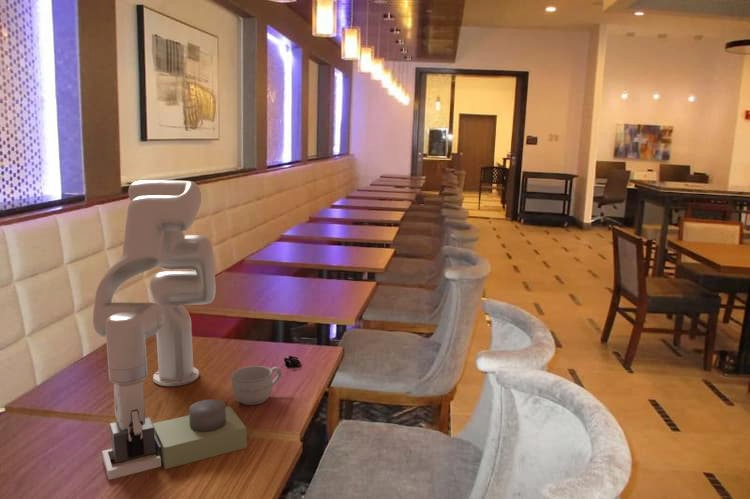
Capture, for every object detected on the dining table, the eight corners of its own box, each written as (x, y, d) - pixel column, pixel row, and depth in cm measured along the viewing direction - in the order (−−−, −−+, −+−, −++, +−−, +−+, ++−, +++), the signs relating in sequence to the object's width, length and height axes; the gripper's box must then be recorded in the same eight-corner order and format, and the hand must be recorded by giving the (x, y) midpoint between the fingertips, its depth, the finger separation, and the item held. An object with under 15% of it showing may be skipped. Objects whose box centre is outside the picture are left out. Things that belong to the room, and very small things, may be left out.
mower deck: (101, 455, 134) (98, 418, 132) (230, 425, 148) (229, 390, 146) (109, 483, 124) (106, 443, 122) (246, 447, 138) (245, 411, 136)
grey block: (112, 451, 131) (110, 423, 130) (150, 442, 135) (149, 415, 134) (115, 462, 127) (113, 433, 126) (155, 452, 131) (153, 424, 130)
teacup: (238, 412, 155) (237, 383, 153) (227, 395, 164) (226, 368, 162) (289, 402, 161) (289, 374, 159) (276, 386, 170) (276, 359, 169)
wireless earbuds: (301, 365, 182) (285, 361, 181) (298, 373, 183) (282, 369, 181) (300, 357, 189) (284, 352, 188) (297, 364, 189) (282, 360, 188)
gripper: (103, 360, 132) (109, 436, 136) (115, 390, 118) (121, 474, 122) (139, 354, 136) (144, 428, 140) (155, 382, 122) (160, 464, 126)
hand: (133, 448), depth 131 cm, fingers closed on grey block, 5 cm apart
